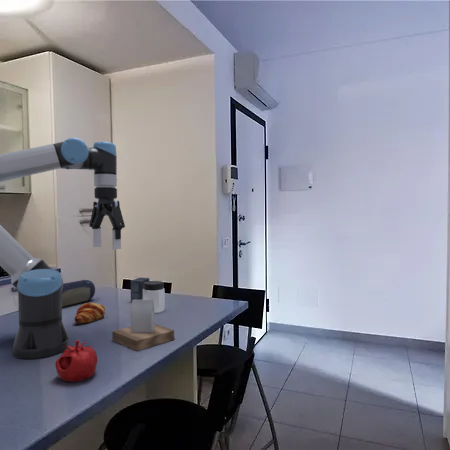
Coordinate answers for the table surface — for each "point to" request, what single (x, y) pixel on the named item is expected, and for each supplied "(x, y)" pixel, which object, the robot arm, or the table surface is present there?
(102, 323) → the table surface
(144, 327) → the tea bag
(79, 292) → the portable speaker
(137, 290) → the box
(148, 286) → the jar
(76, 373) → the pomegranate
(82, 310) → the croissant
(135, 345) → the pedestal
